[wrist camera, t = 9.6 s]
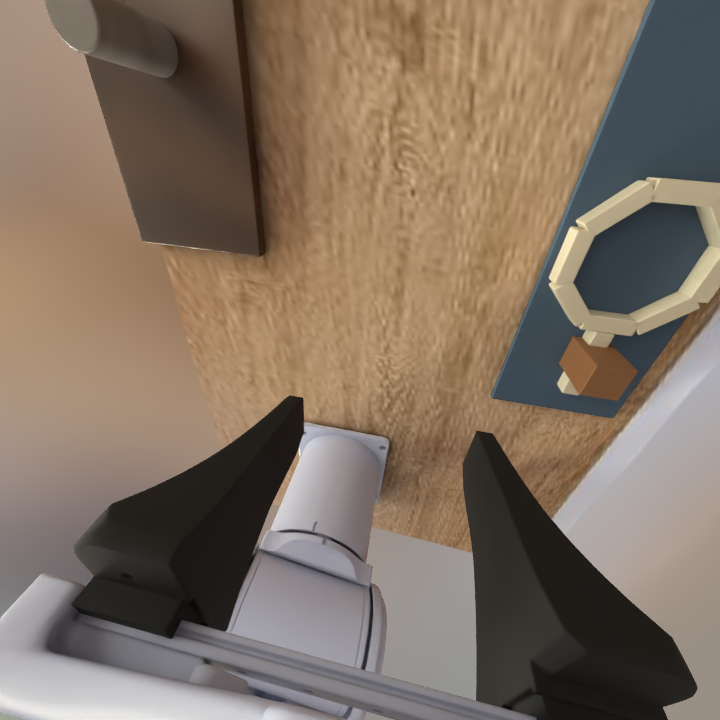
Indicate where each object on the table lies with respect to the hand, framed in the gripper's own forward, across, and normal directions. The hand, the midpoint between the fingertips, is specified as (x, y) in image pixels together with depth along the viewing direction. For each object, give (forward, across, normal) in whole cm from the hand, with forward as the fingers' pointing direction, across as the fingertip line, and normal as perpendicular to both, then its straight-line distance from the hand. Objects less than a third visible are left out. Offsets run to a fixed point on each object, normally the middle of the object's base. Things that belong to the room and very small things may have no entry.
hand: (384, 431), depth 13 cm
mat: (+9, -11, -6) cm, 16 cm away
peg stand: (+9, +13, -11) cm, 19 cm away
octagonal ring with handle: (+9, -11, -4) cm, 15 cm away
